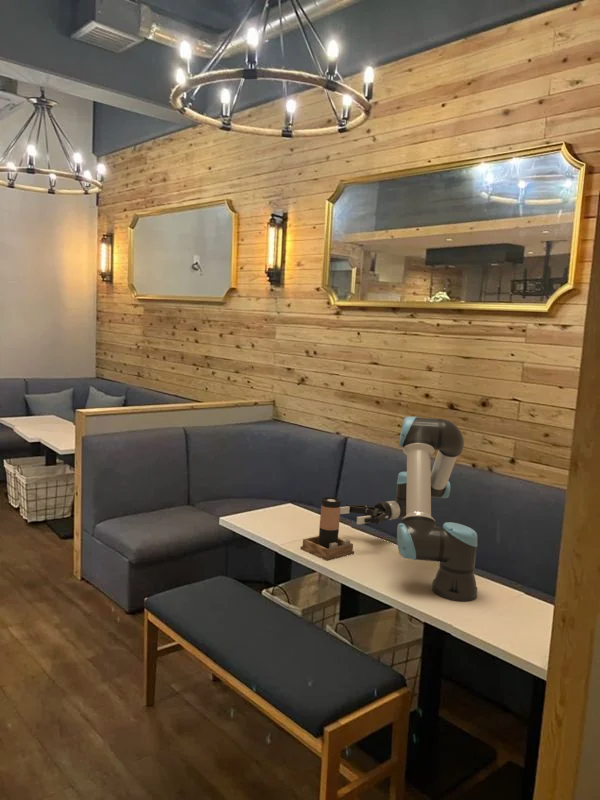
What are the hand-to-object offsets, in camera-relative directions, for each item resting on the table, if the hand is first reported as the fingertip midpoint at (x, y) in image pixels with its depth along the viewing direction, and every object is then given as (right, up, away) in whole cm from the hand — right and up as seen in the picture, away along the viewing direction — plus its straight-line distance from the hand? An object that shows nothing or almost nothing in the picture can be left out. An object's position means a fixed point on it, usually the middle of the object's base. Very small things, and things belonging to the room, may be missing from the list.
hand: (346, 515), depth 251 cm
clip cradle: (-8, -13, -3) cm, 16 cm away
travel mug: (-8, -13, -3) cm, 15 cm away
